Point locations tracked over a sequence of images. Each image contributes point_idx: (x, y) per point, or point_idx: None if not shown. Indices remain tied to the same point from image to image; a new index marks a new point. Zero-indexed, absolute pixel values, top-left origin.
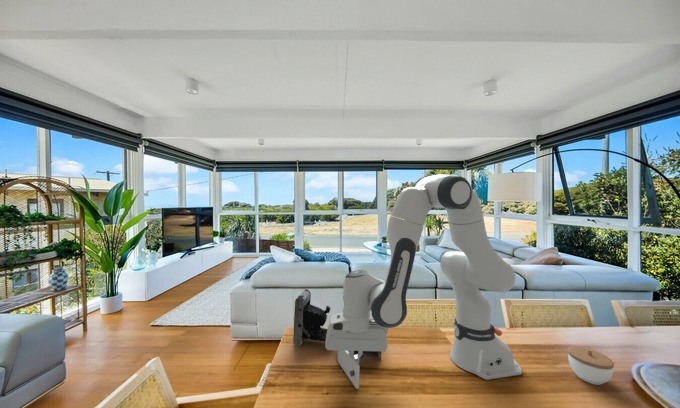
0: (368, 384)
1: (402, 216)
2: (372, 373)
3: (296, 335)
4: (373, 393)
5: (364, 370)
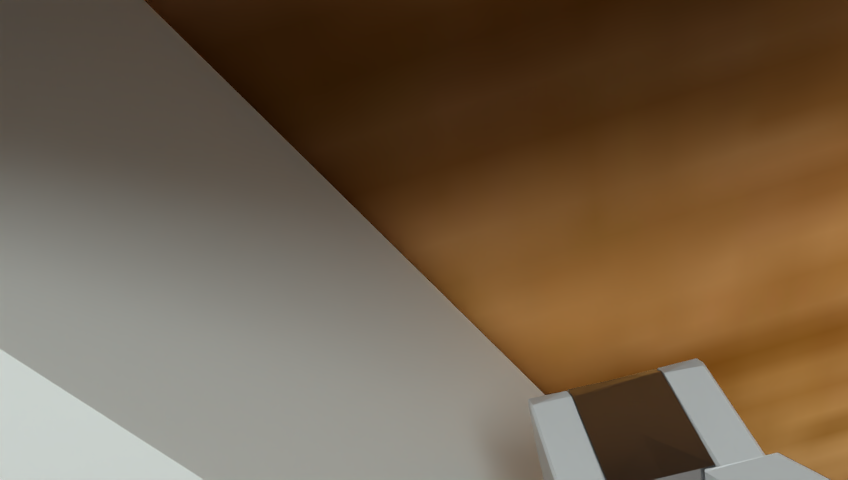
0: (739, 333)
1: None
2: (841, 82)
3: None
4: (789, 438)
5: (690, 46)
